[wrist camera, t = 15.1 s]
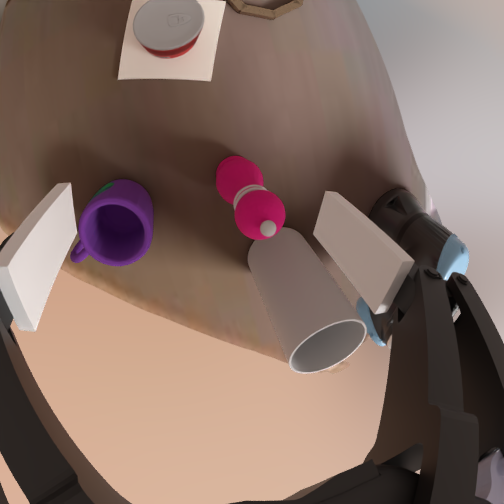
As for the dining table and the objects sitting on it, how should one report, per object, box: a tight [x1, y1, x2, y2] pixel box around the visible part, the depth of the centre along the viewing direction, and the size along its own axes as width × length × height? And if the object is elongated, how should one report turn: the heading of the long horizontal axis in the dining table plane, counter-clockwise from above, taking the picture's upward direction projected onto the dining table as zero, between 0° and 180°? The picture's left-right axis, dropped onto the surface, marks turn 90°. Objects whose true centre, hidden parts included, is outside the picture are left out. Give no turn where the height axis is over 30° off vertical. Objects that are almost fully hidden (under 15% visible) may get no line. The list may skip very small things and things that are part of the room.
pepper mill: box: [216, 156, 285, 240], centre depth 37 cm, size 7×7×20 cm
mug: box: [70, 179, 154, 266], centre depth 39 cm, size 17×11×10 cm, turn 116°
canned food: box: [133, 0, 204, 59], centre depth 24 cm, size 8×8×11 cm
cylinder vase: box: [248, 227, 367, 373], centre depth 47 cm, size 12×12×25 cm
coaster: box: [118, 0, 226, 81], centre depth 29 cm, size 14×14×1 cm
